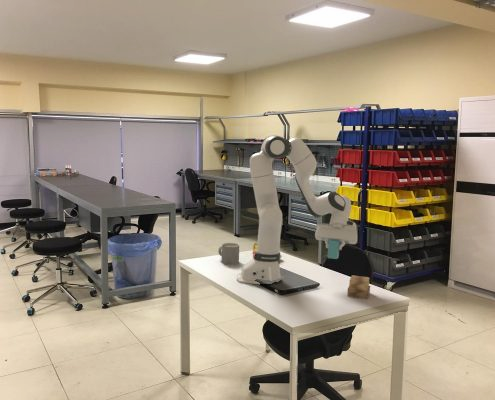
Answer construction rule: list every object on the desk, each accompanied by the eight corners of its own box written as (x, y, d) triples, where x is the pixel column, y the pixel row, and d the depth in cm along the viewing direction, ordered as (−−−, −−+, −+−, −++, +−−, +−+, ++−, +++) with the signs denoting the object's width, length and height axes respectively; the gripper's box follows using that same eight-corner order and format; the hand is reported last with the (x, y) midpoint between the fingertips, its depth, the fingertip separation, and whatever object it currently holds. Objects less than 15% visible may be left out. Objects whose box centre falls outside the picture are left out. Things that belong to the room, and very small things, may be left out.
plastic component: (283, 256, 267) (271, 251, 261) (278, 268, 266) (266, 262, 260) (263, 246, 283) (252, 241, 277) (258, 257, 282) (247, 252, 276)
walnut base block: (347, 296, 209) (347, 288, 208) (350, 291, 217) (350, 282, 217) (367, 300, 206) (367, 291, 205) (369, 293, 214) (370, 285, 214)
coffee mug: (242, 262, 259) (243, 245, 258) (228, 265, 253) (229, 247, 251) (227, 257, 269) (228, 240, 268) (214, 260, 263) (214, 243, 261)
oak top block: (349, 288, 209) (349, 280, 208) (351, 283, 216) (351, 275, 215) (367, 291, 206) (367, 282, 205) (368, 285, 213) (369, 277, 213)
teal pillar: (327, 257, 218) (328, 241, 217) (329, 255, 223) (330, 239, 222) (336, 259, 217) (337, 242, 216) (338, 257, 221) (339, 240, 220)
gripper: (317, 219, 228) (311, 242, 220) (358, 223, 220) (354, 247, 212) (318, 226, 232) (312, 249, 225) (359, 230, 225) (355, 254, 217)
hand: (333, 248), depth 219 cm, fingers closed on teal pillar, 4 cm apart
